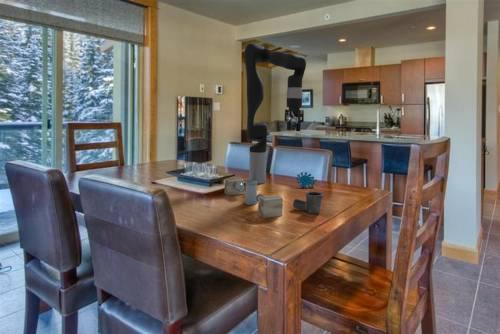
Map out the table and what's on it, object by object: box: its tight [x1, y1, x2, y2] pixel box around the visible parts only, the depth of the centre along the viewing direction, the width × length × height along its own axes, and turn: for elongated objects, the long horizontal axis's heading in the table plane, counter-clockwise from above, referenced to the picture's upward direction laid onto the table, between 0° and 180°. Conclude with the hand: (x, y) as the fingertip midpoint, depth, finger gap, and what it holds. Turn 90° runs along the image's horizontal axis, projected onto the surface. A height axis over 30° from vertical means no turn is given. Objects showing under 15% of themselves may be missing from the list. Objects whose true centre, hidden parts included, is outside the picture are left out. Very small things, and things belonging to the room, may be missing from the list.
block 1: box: [224, 177, 245, 196], centre depth 171 cm, size 5×8×7 cm, turn 114°
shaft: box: [256, 193, 265, 203], centre depth 142 cm, size 7×4×4 cm, turn 24°
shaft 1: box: [233, 182, 246, 193], centre depth 165 cm, size 7×4×4 cm, turn 24°
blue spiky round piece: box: [295, 171, 318, 189], centre depth 188 cm, size 11×6×10 cm
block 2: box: [257, 194, 284, 219], centre depth 137 cm, size 5×8×7 cm, turn 114°
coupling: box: [244, 179, 258, 206], centre depth 153 cm, size 5×5×10 cm
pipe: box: [292, 191, 324, 215], centre depth 142 cm, size 6×13×8 cm, turn 52°
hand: (293, 130), depth 175 cm, fingers open, 8 cm apart
